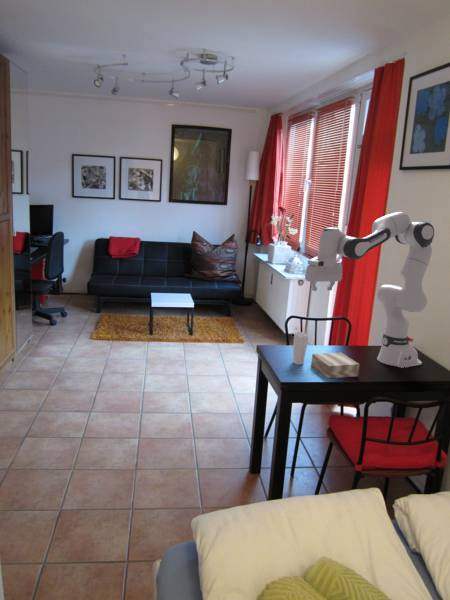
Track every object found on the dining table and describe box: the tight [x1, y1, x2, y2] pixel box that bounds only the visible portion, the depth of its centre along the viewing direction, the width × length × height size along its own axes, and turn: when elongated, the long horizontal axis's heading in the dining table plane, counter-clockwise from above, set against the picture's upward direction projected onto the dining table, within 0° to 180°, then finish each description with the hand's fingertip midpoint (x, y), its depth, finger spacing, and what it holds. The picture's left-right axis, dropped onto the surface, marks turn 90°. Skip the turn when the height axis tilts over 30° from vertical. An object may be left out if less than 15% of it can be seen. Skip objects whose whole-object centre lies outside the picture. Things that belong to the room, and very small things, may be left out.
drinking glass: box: [292, 331, 309, 366], centre depth 247 cm, size 7×7×15 cm
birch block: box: [310, 351, 360, 379], centre depth 242 cm, size 16×16×6 cm
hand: (322, 290), depth 242 cm, fingers open, 8 cm apart
